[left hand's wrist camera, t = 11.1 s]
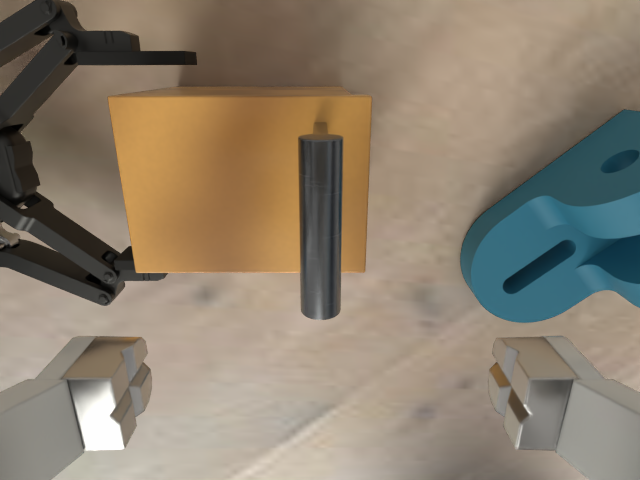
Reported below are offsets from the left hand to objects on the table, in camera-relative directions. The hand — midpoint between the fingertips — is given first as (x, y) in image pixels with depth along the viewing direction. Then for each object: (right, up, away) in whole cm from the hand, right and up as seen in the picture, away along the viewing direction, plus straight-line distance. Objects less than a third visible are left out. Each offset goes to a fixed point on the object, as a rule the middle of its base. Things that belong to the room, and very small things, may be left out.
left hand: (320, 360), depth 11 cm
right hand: (-8, +8, +20) cm, 23 cm away
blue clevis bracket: (+20, +4, +29) cm, 35 cm away
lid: (-4, +6, +16) cm, 17 cm away
